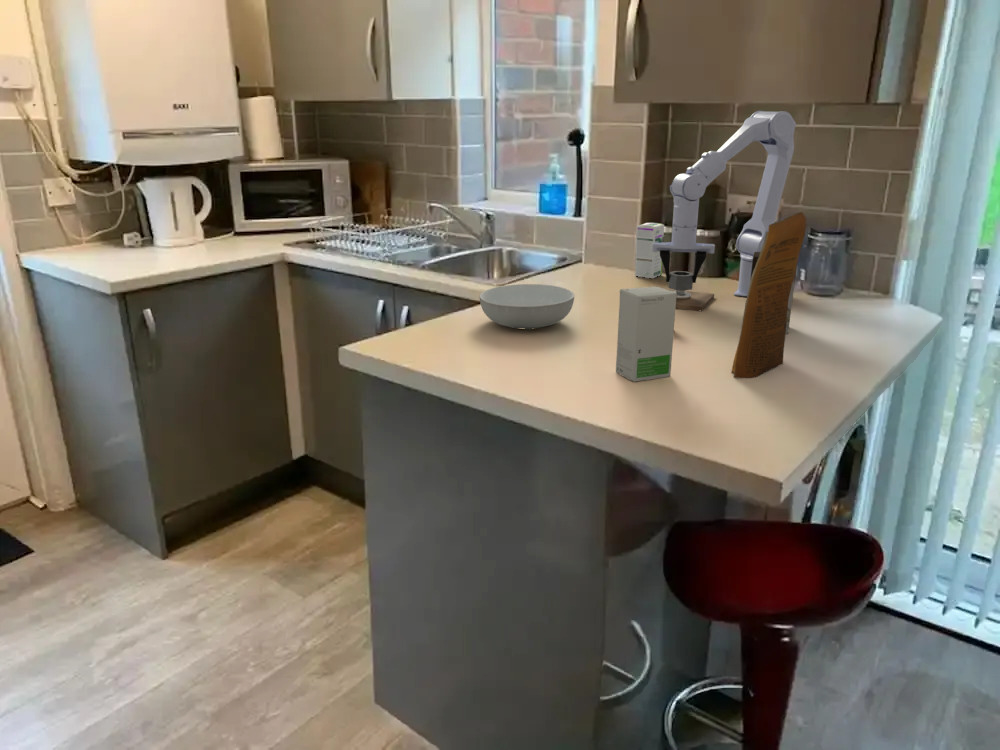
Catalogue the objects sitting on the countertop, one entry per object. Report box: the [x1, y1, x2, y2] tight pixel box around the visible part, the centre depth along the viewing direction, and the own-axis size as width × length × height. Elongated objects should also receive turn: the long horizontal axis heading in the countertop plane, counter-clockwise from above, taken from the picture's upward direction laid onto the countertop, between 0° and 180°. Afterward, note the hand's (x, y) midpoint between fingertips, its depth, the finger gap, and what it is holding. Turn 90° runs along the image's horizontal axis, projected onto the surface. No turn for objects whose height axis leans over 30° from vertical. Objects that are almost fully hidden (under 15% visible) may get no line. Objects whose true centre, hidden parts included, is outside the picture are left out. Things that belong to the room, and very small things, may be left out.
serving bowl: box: [479, 283, 575, 330], centre depth 173 cm, size 21×21×7 cm
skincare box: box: [615, 286, 677, 383], centre depth 140 cm, size 8×7×16 cm
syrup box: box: [634, 222, 665, 279], centre depth 217 cm, size 6×6×14 cm
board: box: [665, 288, 715, 312], centre depth 192 cm, size 14×14×1 cm
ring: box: [668, 270, 694, 291], centre depth 191 cm, size 6×6×4 cm
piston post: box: [673, 290, 691, 300], centre depth 191 cm, size 5×5×4 cm
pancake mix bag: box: [731, 211, 807, 379], centre depth 140 cm, size 7×19×28 cm, turn 135°
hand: (680, 281), depth 191 cm, fingers closed on ring, 6 cm apart
